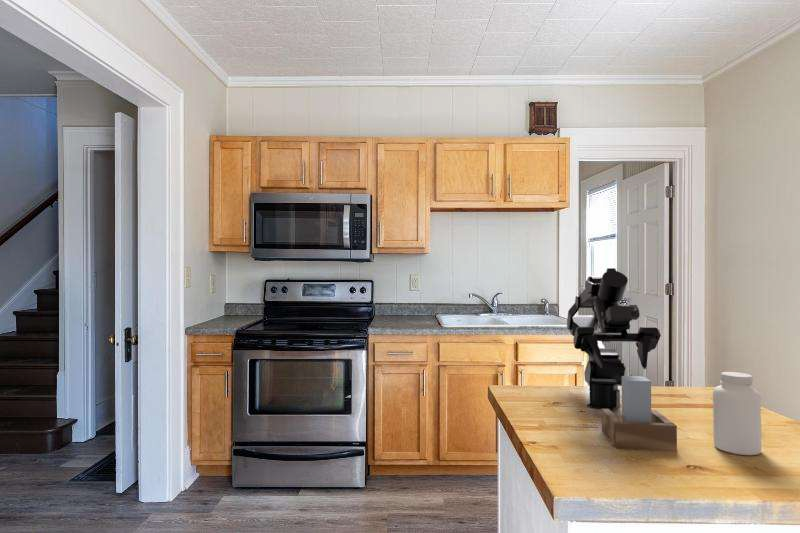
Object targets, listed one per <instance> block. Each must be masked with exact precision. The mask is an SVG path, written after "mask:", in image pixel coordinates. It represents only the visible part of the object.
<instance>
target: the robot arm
mask: <svg viewBox="0 0 800 533" xmlns="http://www.w3.org/2000/svg"><path fill="white" fill-rule="evenodd" d="M627 284H628V276H626V274H624V273H622V272H620V271H617V269H616V268H615V267H614V268H613V267H612V268H611V267H610V268H606V271H605V272H604V273H603V274H602V275H594V276H593V275H589V276H588V277H587V279H586V280H585V283H584V290H583V291H582V292H580V294H578V295H575V299H574V303H573V304H572V306H570V308H569V309H568V311H567V317H566V328H567V330H568V331H569V333H570V335H572V336H573V339H572V340H573V347H574V348H575V349H577V350H580V351H581V352H583V353H586V354H587V355H588V361H587V363H586V366H585V370H584V372H583V374H584V381H585V382H586V383H587V384H588V385H589V388H588V389H589V402H588V403H587V404H586V406H587V407H588V408H589V407H590V408H595V409H598V410H599V409H600V410H602V409H609V410H610V411H611V412H612V411H614V410H616V409H618V408H619V407H620V406H621V390H620V389H619V387H618V386H619V385H620V386H622V376H625V373H626V366H625V365H624V362H623V361H622V359H621V357H620V354H618V352H617V350H616V349H615V348H614V347H613V348H612V347H605V345H604V343H603V342H605V343H606V342H607V343H635V346H636V348H637V350H636V351H637V355H638V359H639V361H640V365H641V366H642V368H643V370H646V369H647V365H648V357H649V356H648V355H649V353H650V352H651V351H654V350H655V349H656V347H657V345H658V343H659V341H660V339H661V336H662V335H661V332H660V329H658V327H655V326H639V329H638V332H637V333H635V332H632V333H631V332H630V333H628V330H630V328H631V325H630V322H631V321H634V320H638V319H639V317H640V310H639V309H640V308H639V306H638V305H637V304H629V305H620V304H619V302H621V301H622V300H623V298H624V294H625V291H626V288H627ZM580 309H592V311H593V314H592V315H591V314H588V315H587V314H582V315H581V314H579V315H578V314H577V313H578V312H579V310H580ZM598 329H600V330H599V331H598V332H597V330H598Z"/></svg>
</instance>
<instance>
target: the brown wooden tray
mask: <svg viewBox="0 0 800 533" xmlns="http://www.w3.org/2000/svg"><path fill="white" fill-rule="evenodd" d="M677 427H678V426H677V424H675V423H674V422H672V421H671V420H670V419H668V418H667V417H666V416H665V415H664V414H662V413H660V412H659V411H658V410H656V409H651V423H646V422H622V420H620V419H619V417H618V416H617V415H615V413H613V412H612V411H610V410H609V409H601V432H602V434H603V435H604V436H605V437H606V438H607V439H608V441H609V442H610V443H611V444H612V445H613V446H614V447H615V449H616V450H641V451H642V450H643V451H644V450H645V451H669V452H671V451H672V452H676V451H678V432H677V431H678V428H677Z"/></svg>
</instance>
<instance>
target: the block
mask: <svg viewBox="0 0 800 533" xmlns="http://www.w3.org/2000/svg"><path fill="white" fill-rule="evenodd" d="M651 410H652V381H651V380H650V379H648V378H647V377H645V376H639V375H638V376H637V375H635V376H633V375H624V376H622V385H621V422H646V423H651Z"/></svg>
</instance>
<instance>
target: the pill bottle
mask: <svg viewBox="0 0 800 533" xmlns="http://www.w3.org/2000/svg"><path fill="white" fill-rule="evenodd" d="M753 378H754V377H753V375H751V374H750V373H749V374H748V373H745V372H744V373H743V372H737V371H723V372H721V373H720V381H719V382H720V385H717V386H715V387H714V388H713V390H712V423H713V426H712V427H713V428H712V430H713V434H712V435H713V445H714V446H715V447H716V448H717V449H719V450H721V451H723V452H726V453H730V454H733V455H738V456H739V455H741V456H755V455H760V454H761V452H762V408H761V407H762V406H761V405H762V404H761V395H760V393H759V392H758V391H757V390H756V389H754V388H752V386H753V382H754V381H753V380H754V379H753Z"/></svg>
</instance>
